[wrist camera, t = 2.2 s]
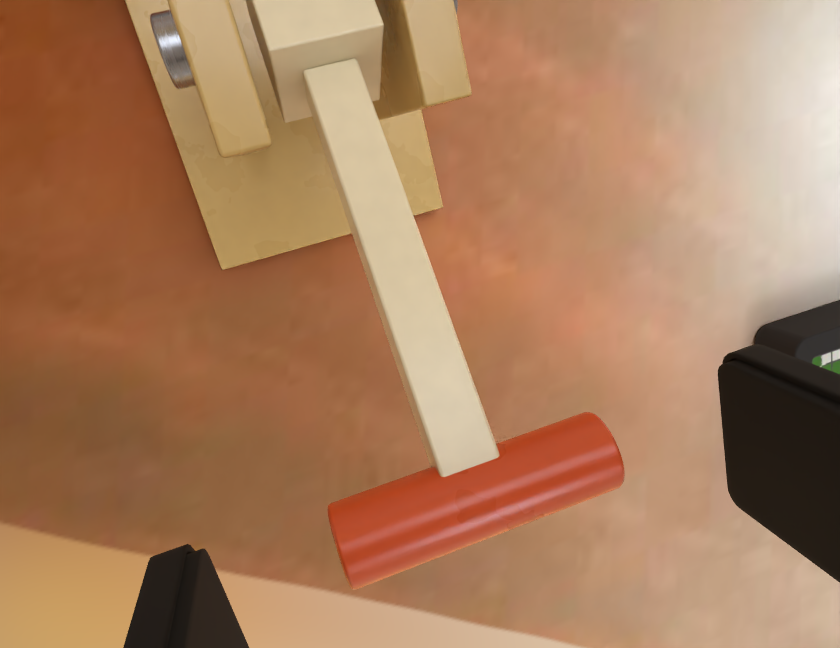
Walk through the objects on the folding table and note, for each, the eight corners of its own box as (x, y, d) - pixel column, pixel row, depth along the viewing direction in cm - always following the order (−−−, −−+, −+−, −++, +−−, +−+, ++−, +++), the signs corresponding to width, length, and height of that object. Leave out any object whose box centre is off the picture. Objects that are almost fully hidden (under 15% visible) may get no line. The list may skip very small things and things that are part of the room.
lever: (593, 485, 12) (650, 490, 10) (353, 577, 11) (351, 606, 9) (399, -15, 14) (407, -109, 12) (187, 30, 13) (151, -61, 11)
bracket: (435, 205, 25) (590, 251, 13) (223, 264, 24) (185, 377, 12) (360, -125, 21) (484, -473, 9) (101, -78, 20) (-138, -421, 8)
